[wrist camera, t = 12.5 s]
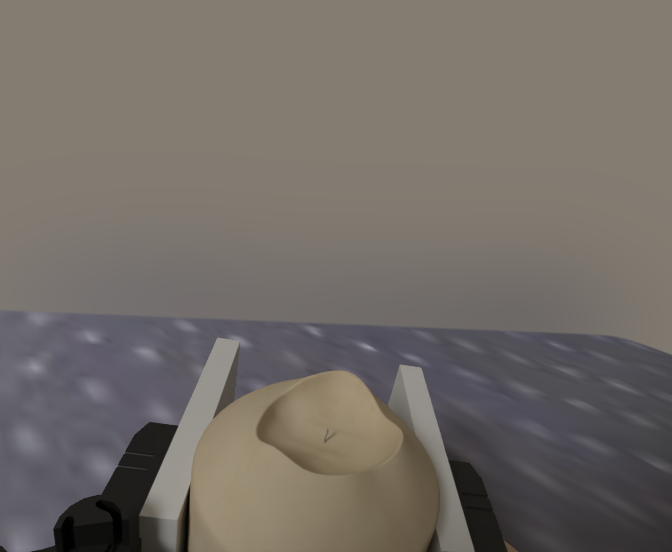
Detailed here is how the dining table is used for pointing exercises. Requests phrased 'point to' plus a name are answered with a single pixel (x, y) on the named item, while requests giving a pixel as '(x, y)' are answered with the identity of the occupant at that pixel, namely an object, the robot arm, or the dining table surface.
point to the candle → (311, 473)
